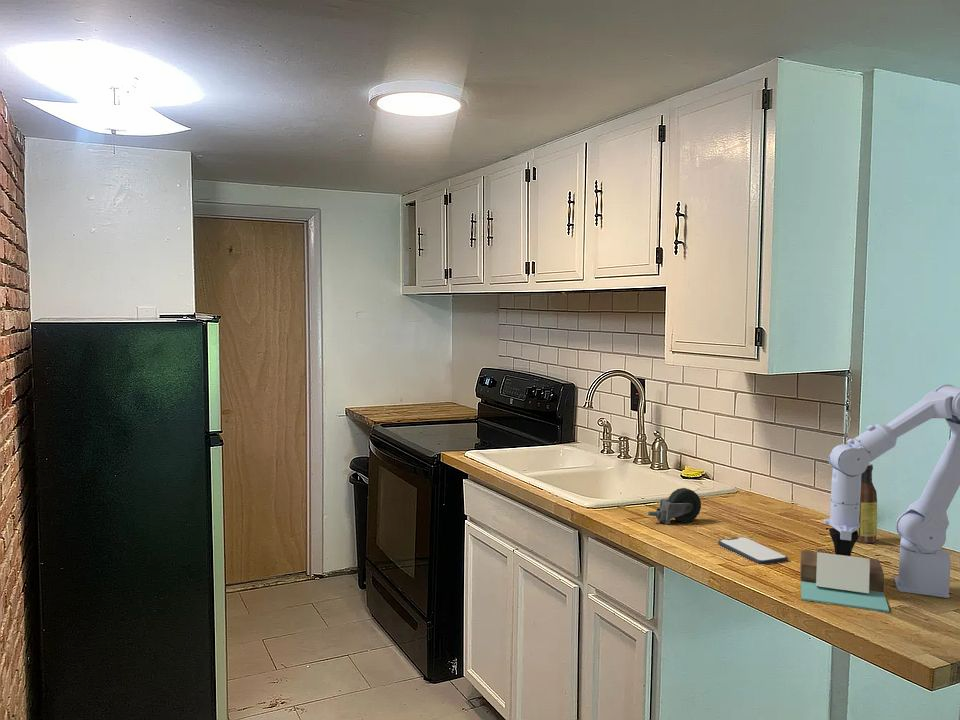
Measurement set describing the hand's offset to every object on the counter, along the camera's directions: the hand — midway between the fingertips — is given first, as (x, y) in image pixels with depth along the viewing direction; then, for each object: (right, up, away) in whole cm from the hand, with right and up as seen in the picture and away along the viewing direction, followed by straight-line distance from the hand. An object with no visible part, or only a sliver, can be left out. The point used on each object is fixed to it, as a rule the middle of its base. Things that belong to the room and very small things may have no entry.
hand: (841, 563), depth 168 cm
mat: (-3, -5, -6) cm, 8 cm away
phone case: (-12, -4, +22) cm, 25 cm away
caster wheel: (-24, -1, +47) cm, 53 cm away
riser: (+1, -5, +4) cm, 6 cm away
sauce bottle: (+20, -3, +33) cm, 39 cm away
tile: (-1, -1, -2) cm, 3 cm away
